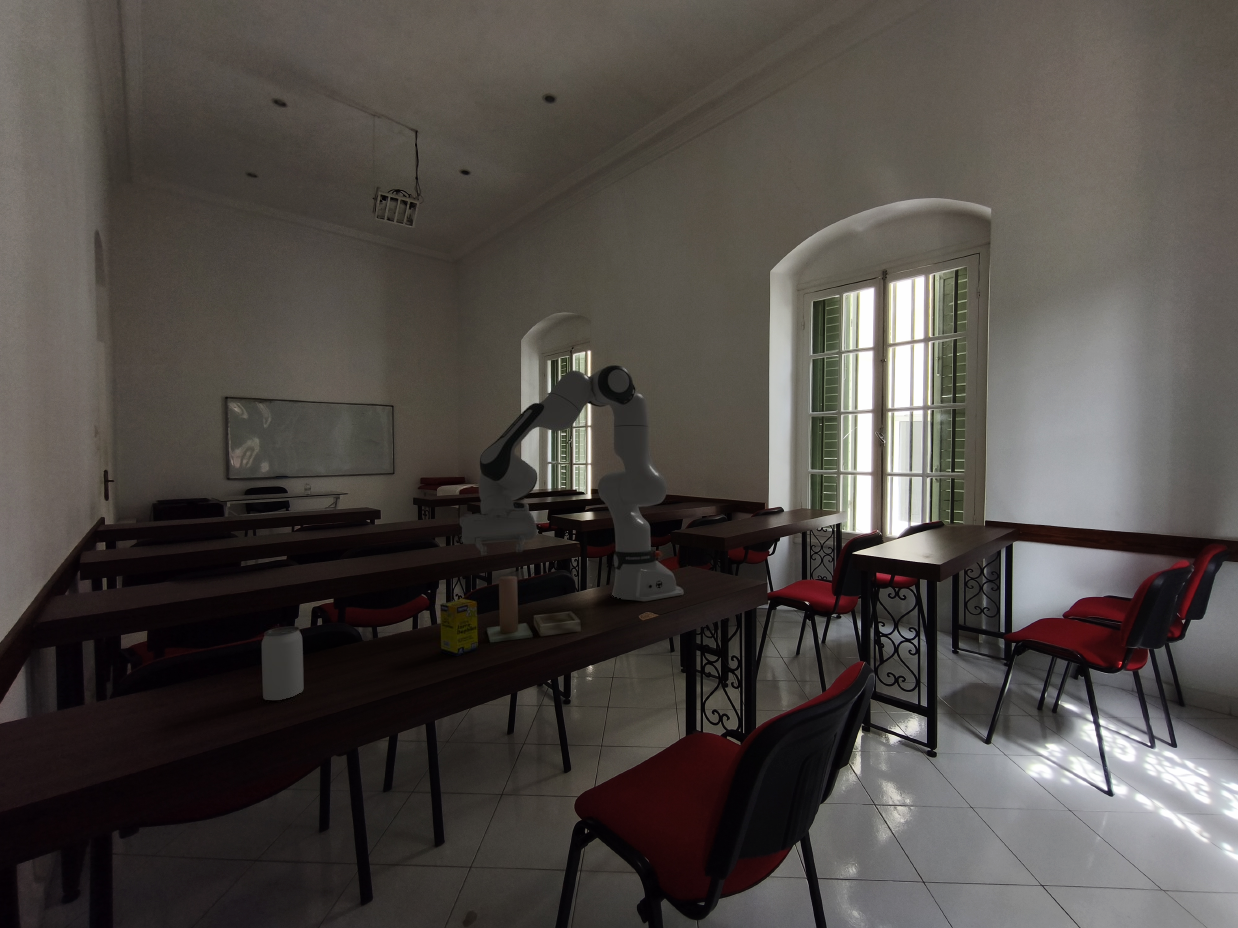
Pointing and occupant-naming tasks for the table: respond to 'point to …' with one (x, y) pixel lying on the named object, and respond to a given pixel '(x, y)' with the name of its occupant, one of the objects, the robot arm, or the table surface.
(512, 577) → the terracotta peg
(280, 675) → the can
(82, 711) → the table surface
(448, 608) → the supplement box
